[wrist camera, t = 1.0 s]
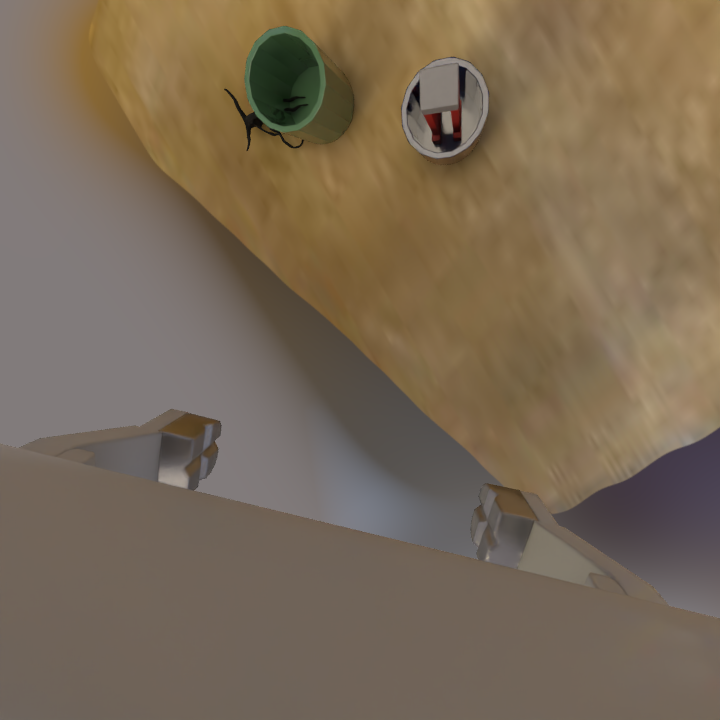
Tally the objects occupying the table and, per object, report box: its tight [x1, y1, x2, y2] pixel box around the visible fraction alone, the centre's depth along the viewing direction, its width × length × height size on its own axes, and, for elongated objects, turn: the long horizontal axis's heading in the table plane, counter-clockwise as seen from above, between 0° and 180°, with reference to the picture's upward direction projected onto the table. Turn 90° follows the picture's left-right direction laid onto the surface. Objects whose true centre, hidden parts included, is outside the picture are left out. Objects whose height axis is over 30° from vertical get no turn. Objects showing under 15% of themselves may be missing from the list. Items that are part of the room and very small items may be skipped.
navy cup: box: [401, 57, 489, 165], centre depth 37 cm, size 7×7×9 cm
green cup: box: [244, 26, 354, 144], centre depth 38 cm, size 8×8×10 cm
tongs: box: [419, 63, 462, 145], centre depth 33 cm, size 3×3×16 cm
